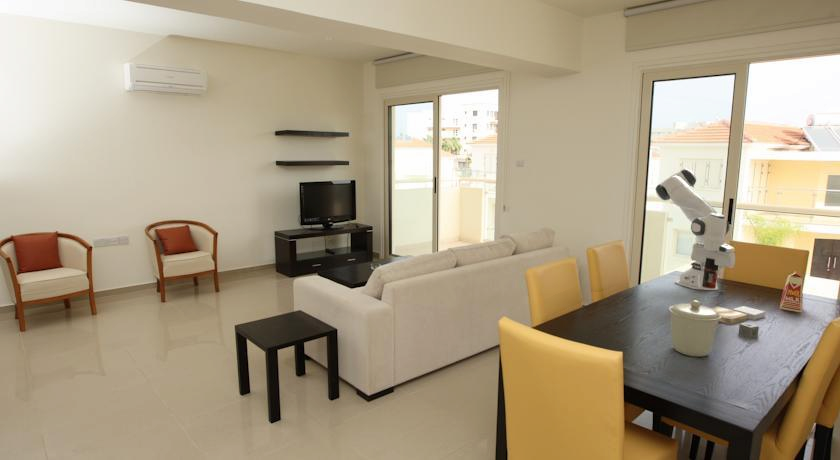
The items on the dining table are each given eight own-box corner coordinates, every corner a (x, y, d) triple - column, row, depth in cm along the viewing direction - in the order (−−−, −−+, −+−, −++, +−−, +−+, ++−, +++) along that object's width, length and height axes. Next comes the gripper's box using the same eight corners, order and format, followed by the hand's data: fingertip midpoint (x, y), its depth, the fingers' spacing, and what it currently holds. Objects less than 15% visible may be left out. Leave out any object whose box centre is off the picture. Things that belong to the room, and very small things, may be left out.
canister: (671, 339, 211) (676, 291, 207) (720, 350, 199) (726, 299, 196) (660, 352, 197) (664, 301, 193) (712, 365, 185) (718, 311, 182)
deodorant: (712, 285, 256) (716, 257, 254) (717, 288, 250) (721, 259, 248) (700, 285, 257) (703, 256, 254) (705, 288, 251) (709, 259, 249)
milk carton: (802, 312, 248) (807, 273, 245) (779, 308, 253) (784, 270, 250) (802, 308, 255) (807, 270, 252) (780, 304, 260) (785, 267, 257)
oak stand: (701, 315, 242) (701, 310, 241) (717, 311, 249) (717, 305, 248) (731, 324, 230) (731, 318, 229) (747, 319, 237) (747, 314, 236)
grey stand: (732, 313, 244) (732, 309, 244) (742, 310, 250) (743, 306, 249) (754, 320, 236) (754, 314, 236) (764, 316, 241) (765, 311, 241)
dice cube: (738, 334, 217) (739, 323, 216) (746, 333, 219) (747, 322, 218) (749, 338, 213) (750, 327, 212) (757, 337, 214) (758, 326, 213)
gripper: (690, 242, 257) (687, 268, 260) (731, 250, 240) (728, 277, 242) (696, 241, 260) (694, 267, 263) (738, 248, 243) (734, 276, 246)
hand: (710, 272), depth 252 cm, fingers closed on deodorant, 6 cm apart
